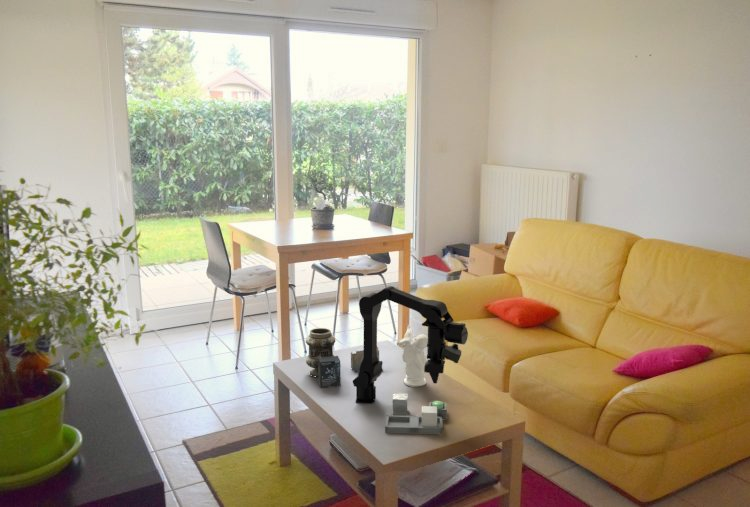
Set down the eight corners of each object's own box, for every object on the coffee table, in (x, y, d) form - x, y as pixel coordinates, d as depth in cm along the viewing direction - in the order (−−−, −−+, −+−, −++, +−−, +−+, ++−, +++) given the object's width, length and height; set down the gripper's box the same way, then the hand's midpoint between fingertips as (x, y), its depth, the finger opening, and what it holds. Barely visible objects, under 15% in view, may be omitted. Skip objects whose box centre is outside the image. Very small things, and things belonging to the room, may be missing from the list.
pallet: (385, 432, 214) (385, 414, 212) (386, 420, 222) (386, 402, 221) (442, 434, 212) (442, 415, 211) (441, 422, 221) (442, 404, 219)
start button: (432, 416, 224) (432, 405, 223) (432, 411, 228) (432, 400, 227) (443, 416, 224) (443, 405, 223) (443, 411, 227) (443, 401, 227)
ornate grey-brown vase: (339, 369, 268) (338, 326, 265) (331, 380, 257) (330, 336, 253) (311, 367, 271) (310, 325, 267) (302, 378, 259) (300, 334, 256)
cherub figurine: (431, 386, 251) (433, 331, 246) (403, 392, 246) (404, 336, 241) (416, 374, 262) (417, 322, 257) (388, 380, 256) (388, 326, 252)
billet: (392, 415, 226) (392, 399, 225) (393, 409, 231) (393, 393, 230) (407, 416, 226) (407, 399, 224) (407, 409, 231) (407, 393, 229)
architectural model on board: (376, 365, 273) (376, 343, 271) (379, 368, 270) (379, 346, 268) (350, 369, 269) (350, 346, 268) (352, 371, 267) (352, 349, 265)
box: (320, 388, 249) (320, 362, 247) (318, 382, 255) (317, 356, 253) (341, 386, 251) (340, 360, 249) (338, 380, 256) (338, 355, 254)
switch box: (429, 419, 223) (429, 409, 222) (428, 411, 229) (429, 402, 228) (446, 419, 223) (446, 409, 222) (446, 411, 229) (446, 402, 228)
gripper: (459, 350, 210) (458, 395, 213) (461, 331, 228) (460, 374, 231) (424, 348, 212) (423, 393, 215) (429, 330, 230) (428, 372, 233)
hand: (435, 383), depth 224 cm, fingers closed
